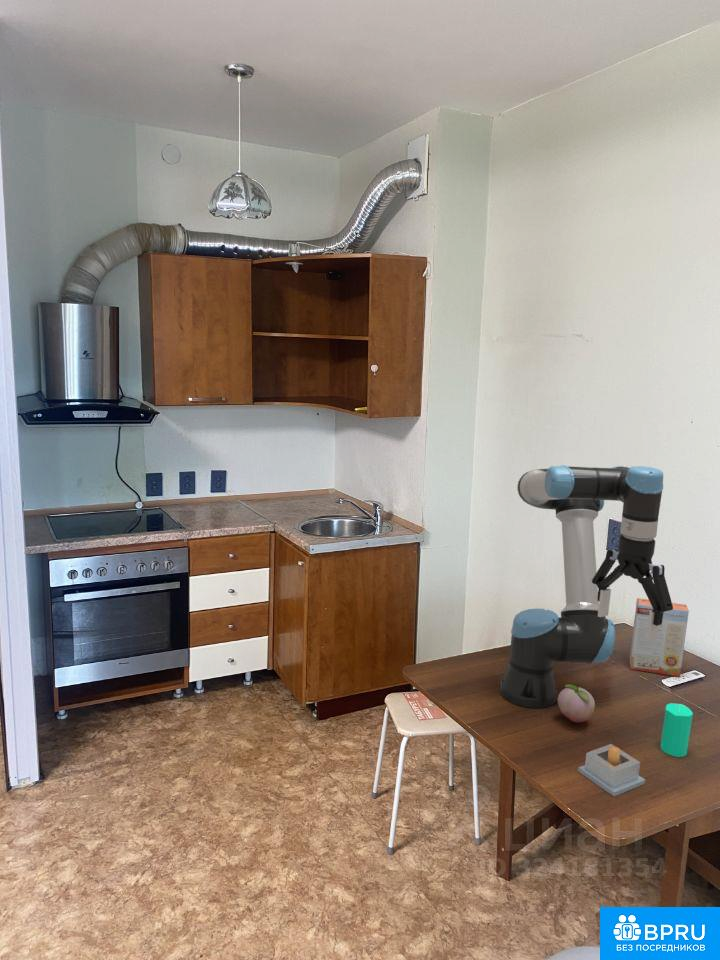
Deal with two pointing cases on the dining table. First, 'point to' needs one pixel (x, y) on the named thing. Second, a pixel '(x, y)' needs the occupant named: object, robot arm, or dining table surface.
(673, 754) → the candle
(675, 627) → the cracker box
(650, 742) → the dining table surface
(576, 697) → the decorative fruit
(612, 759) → the keeper
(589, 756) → the gray square frame
